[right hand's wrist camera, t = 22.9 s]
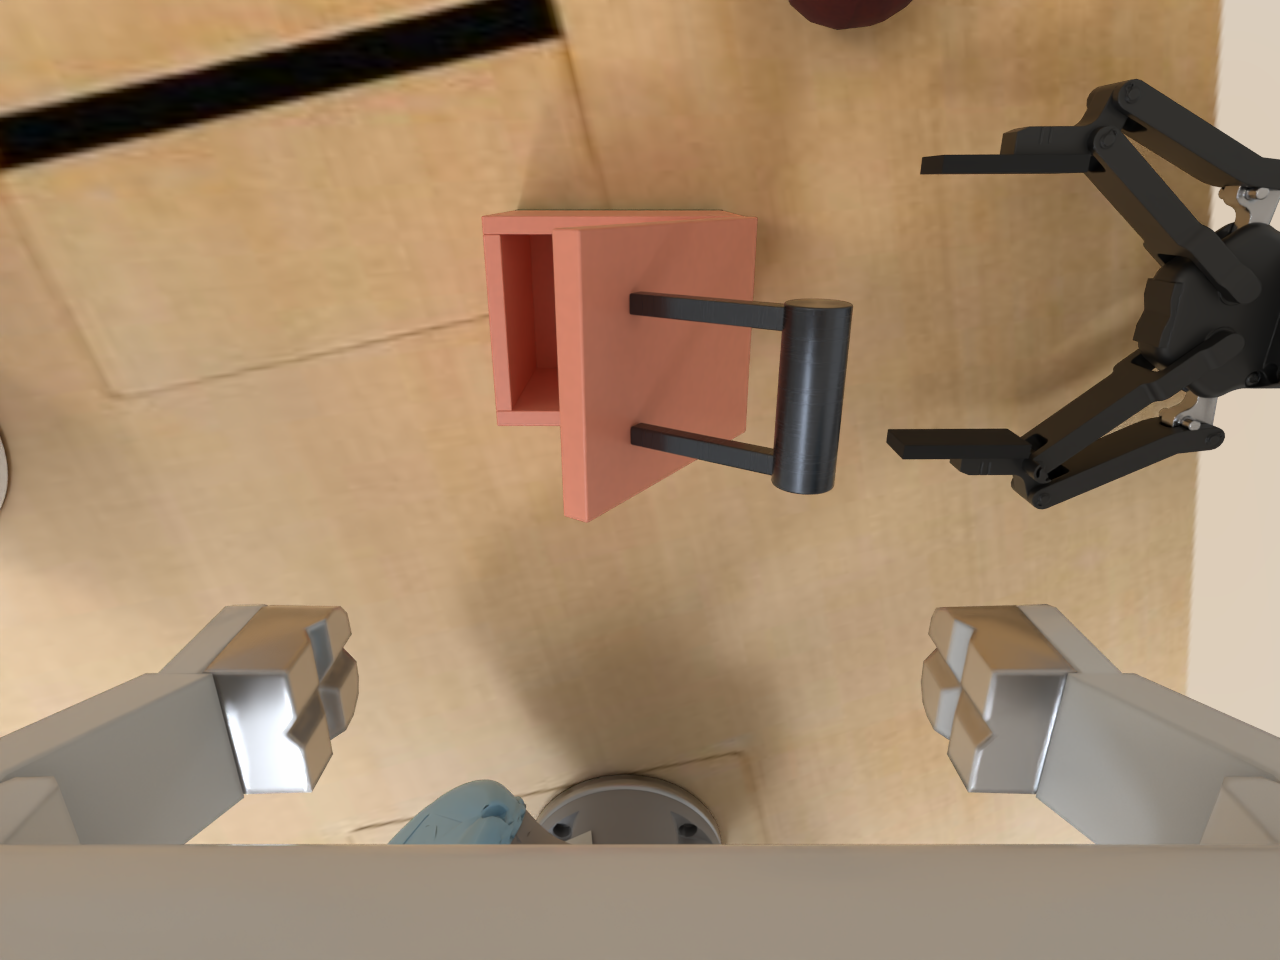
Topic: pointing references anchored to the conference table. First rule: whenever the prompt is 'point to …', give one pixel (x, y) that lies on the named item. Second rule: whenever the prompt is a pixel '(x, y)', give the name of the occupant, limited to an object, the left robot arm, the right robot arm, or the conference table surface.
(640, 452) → the lid
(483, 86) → the conference table surface
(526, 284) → the chest
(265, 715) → the right robot arm
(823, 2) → the dark brown oval ball
